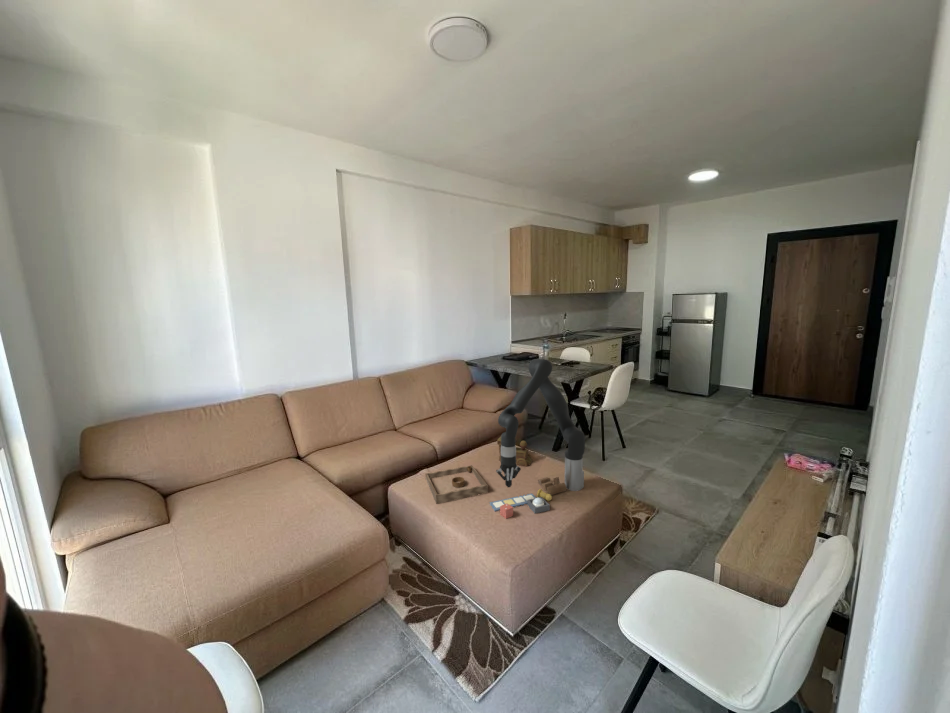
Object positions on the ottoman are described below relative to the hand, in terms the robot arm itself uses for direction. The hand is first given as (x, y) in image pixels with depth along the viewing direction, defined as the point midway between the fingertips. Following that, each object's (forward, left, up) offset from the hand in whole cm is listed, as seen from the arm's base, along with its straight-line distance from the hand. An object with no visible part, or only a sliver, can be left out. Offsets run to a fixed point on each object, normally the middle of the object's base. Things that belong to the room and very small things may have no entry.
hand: (508, 486), depth 188 cm
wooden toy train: (-22, -40, -10) cm, 47 cm away
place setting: (+15, -28, -10) cm, 33 cm away
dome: (-12, +9, -9) cm, 17 cm away
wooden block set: (-22, -2, -6) cm, 23 cm away
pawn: (-17, 0, -7) cm, 19 cm away
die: (+5, +9, -9) cm, 14 cm away
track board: (-3, 0, -9) cm, 10 cm away
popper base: (-12, +9, -9) cm, 17 cm away
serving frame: (+20, -26, -9) cm, 34 cm away
